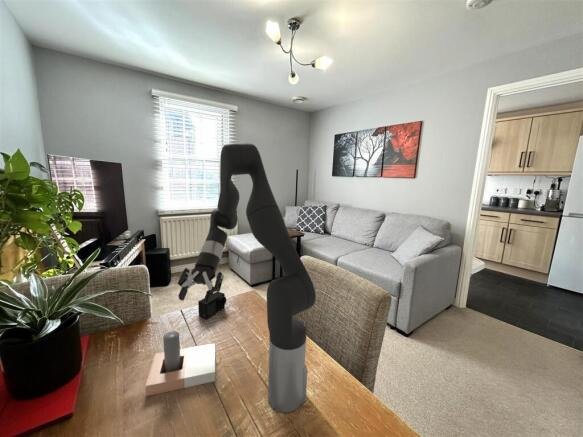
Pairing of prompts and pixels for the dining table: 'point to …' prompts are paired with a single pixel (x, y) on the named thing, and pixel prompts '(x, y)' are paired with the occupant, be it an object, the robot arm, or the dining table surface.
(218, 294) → the digital camera
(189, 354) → the block
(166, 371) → the pin
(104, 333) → the dining table surface
